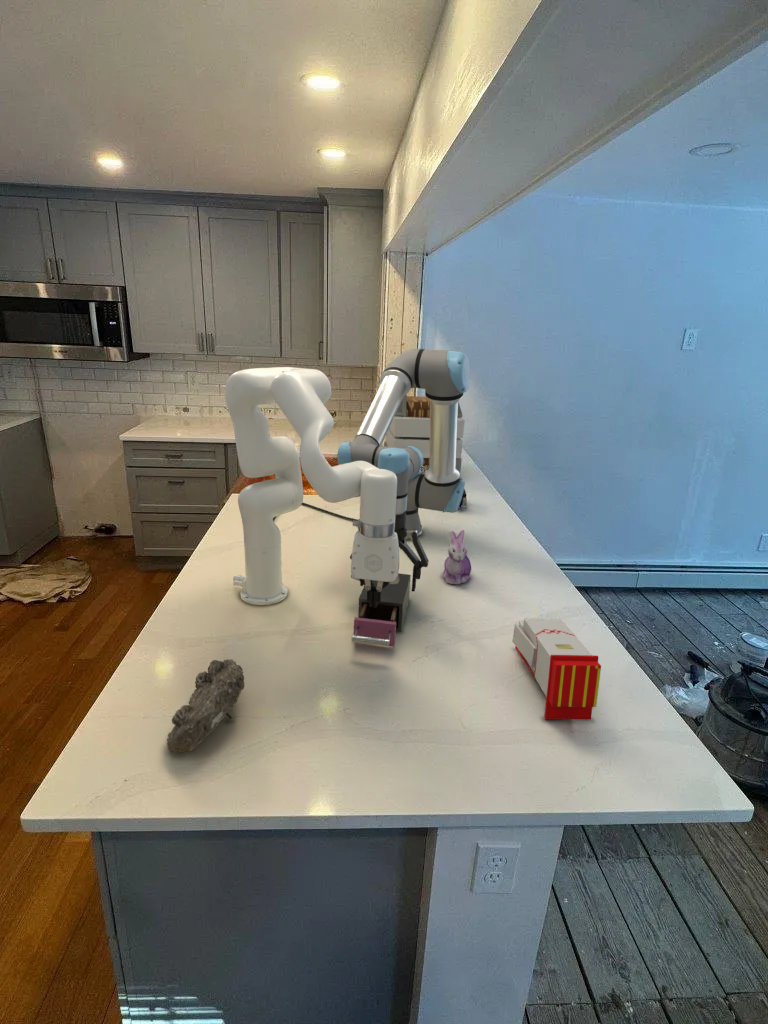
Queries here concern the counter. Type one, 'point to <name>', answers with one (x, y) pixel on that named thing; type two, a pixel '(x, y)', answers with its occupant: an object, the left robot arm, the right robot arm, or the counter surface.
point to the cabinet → (392, 597)
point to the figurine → (457, 560)
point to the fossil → (206, 705)
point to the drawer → (376, 625)
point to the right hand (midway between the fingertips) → (387, 586)
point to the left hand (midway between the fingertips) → (373, 604)
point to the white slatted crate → (418, 428)
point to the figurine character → (463, 500)
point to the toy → (559, 667)
